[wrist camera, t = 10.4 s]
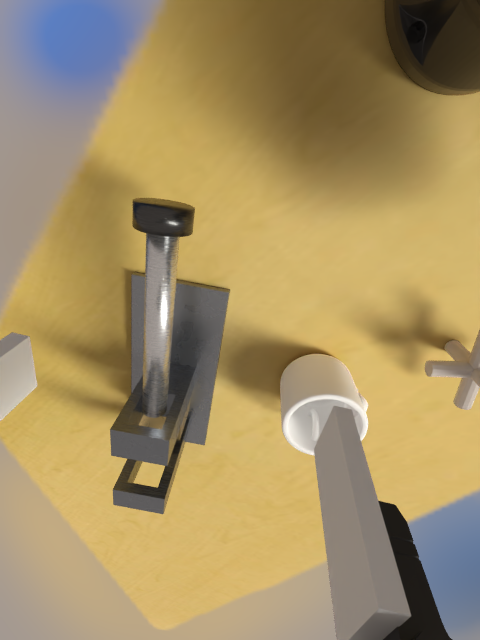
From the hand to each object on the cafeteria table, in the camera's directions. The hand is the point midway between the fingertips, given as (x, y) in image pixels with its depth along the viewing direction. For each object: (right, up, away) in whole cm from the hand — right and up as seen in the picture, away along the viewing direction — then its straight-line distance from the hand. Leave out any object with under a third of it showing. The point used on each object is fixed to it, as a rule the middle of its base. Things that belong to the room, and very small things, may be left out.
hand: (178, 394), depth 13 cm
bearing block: (-7, -4, +31) cm, 33 cm away
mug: (+13, -6, +31) cm, 34 cm away
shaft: (-5, +4, +20) cm, 21 cm away
